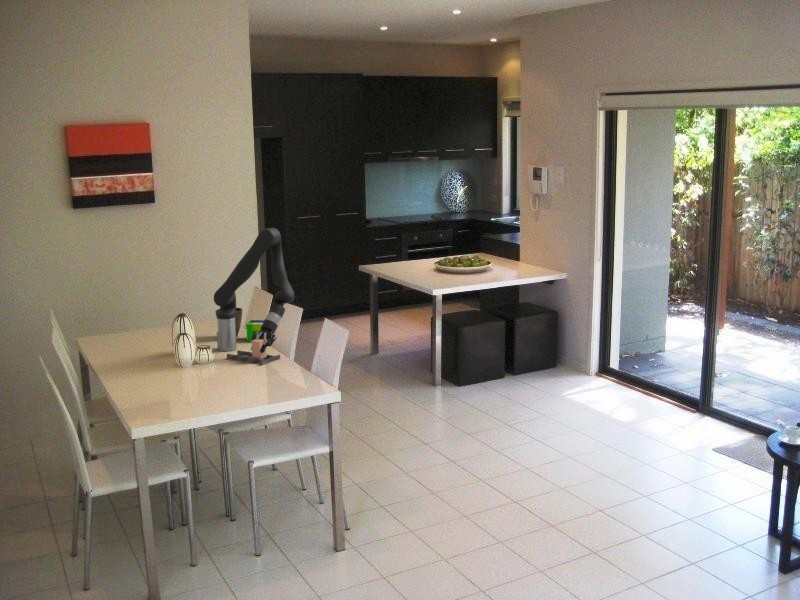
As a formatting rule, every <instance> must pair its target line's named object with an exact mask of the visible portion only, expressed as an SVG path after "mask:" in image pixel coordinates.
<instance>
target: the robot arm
mask: <svg viewBox="0 0 800 600" xmlns="http://www.w3.org/2000/svg"><path fill="white" fill-rule="evenodd" d="M281 236H282V235H281V233H280V231H279V230H278V228H275V227H268V228H264V229H262V230H261V231H260V232H259V233H258V234H257V237H256V238H255V240H254V241H253V243H252V245H251V246H250V247H249V249H248V250H247V252H245V254H244V255H243V256H242V258H241V259H240V260H239V261H238V263H237V264H236V266H235V267H234V268H233V269H232V271H231V273H230V274H229V275H228V277H227V279H226V280H225V281H224V282H223V284H222V285H220V286H219V288H217V290H216V291H215V292H214V294H213V301H214V304H215V305H216V306H219V309H220V310H219V312H218V313H217V317H216V320H218V321H217V331H216V342H217V343H216V344H217V350H219V351H221V352H231V350H232V351H235V350H237V349H238V347H237V338H236V325H235V313H236V308H237V296H236V291H237V290H238V289H239V288H240V287H241V286H242V285H244V284H245V283H246V282H247V281H248V280H249V279H250V278H251V277H252V275H253V274H254V273H255V271H257V269H258V267H259V265H260V264H259V263H260V262H261V258H262V256H263V255H264V254H265V253H266V251H268V249H269V250H270V254H271V265H270V266H271V275H272V280H273V283H274V285H275V286H276V287H278V288H279V289H280V290H279V291H277V292H276V293H275V295H274V297H273V301H272V307H270V310H269V312H268V313H267V315H266V316H265V318H264V322H263V324H262V326H261V330H260V331H259V332H258V333H256V332H254V333H253V336H252V340H255V339H264V340H265V341H264V343H263V344H264V345H262V347H261V349H260V352H261V353H263V352H264V351H265V349H266V350H267V348H268V347H272V345H273V344H274V342H275V341H276V340H277V338H278V336H276V334H275V333H276V331H277V329H278V327H279V326H280V323H281V322H282V318H283V317H284V314H285V313H286V312H285V311H286V309H285V307H284V306H285V305H286V304H291V303H293V301H294V300H295V292H294V290H293V287H292V286H291V283H290V282H289V280H288V275H287V271H286V268H285V262H284V256H283V255H284V254H283V248H282V237H281ZM252 340H251V342H250V343H252ZM250 351H252V346H251V347H250Z"/></svg>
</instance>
